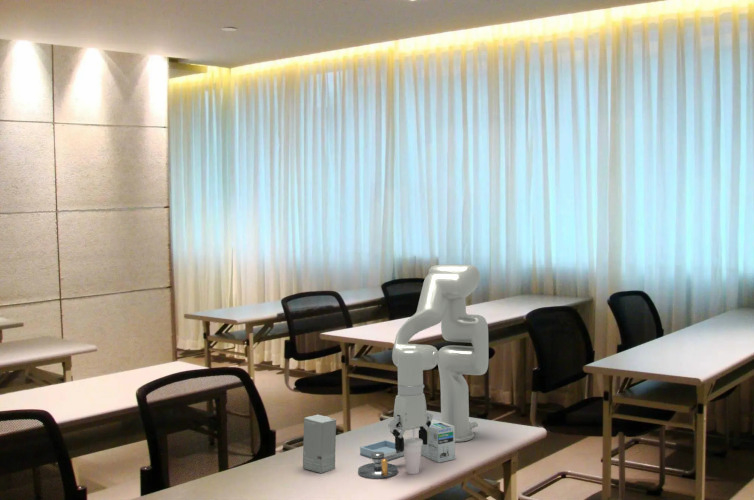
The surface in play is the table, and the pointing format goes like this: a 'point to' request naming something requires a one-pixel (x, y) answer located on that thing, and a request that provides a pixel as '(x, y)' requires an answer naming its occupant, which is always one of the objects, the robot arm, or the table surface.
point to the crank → (386, 455)
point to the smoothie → (412, 453)
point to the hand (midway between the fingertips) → (411, 446)
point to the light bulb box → (439, 442)
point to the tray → (378, 448)
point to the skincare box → (319, 443)
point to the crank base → (378, 470)
